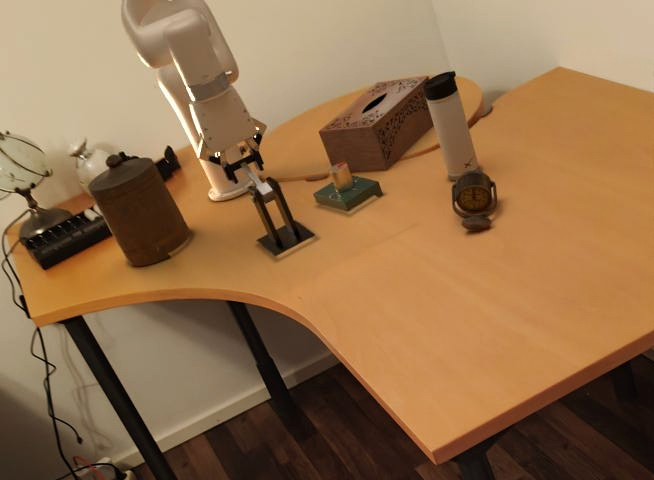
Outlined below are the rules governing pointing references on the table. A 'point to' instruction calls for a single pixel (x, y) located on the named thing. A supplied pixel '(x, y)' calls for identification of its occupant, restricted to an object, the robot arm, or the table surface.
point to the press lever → (254, 178)
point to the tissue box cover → (378, 125)
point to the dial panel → (348, 194)
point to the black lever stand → (292, 230)
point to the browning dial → (341, 177)
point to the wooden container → (139, 210)
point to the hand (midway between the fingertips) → (247, 174)
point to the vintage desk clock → (474, 198)
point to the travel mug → (450, 124)
